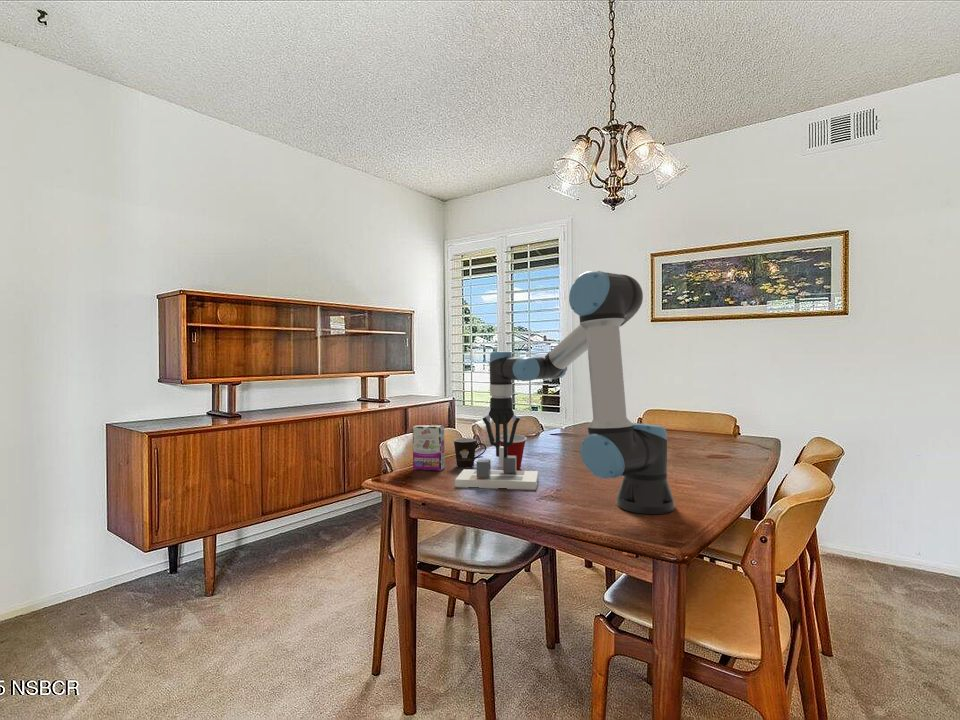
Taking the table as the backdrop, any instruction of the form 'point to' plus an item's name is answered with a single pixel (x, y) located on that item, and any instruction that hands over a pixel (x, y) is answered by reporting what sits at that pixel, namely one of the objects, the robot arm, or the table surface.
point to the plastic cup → (516, 448)
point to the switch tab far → (509, 464)
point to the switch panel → (498, 479)
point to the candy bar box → (428, 447)
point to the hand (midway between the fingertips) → (501, 466)
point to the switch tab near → (483, 468)
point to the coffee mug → (466, 451)
